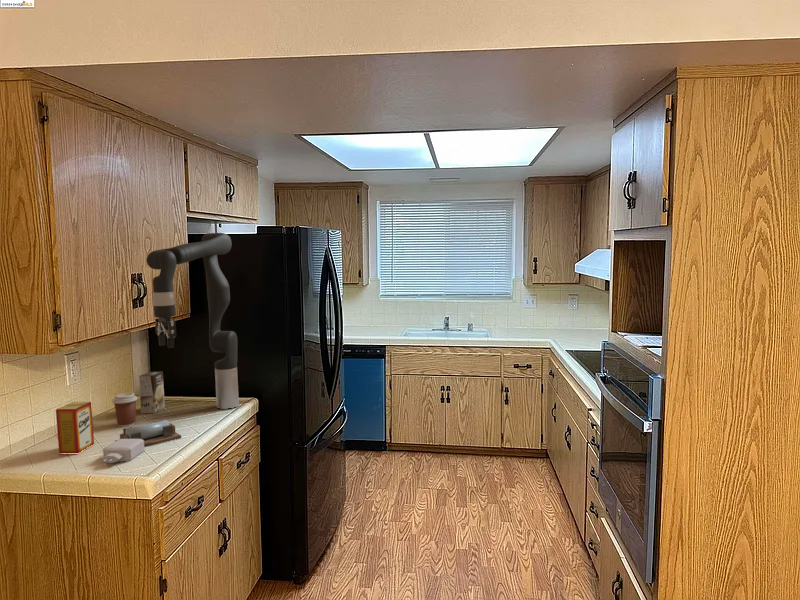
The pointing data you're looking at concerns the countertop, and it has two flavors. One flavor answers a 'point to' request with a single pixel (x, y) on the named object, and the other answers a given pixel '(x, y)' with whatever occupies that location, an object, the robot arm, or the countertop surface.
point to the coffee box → (151, 392)
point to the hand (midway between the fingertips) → (166, 346)
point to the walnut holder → (167, 436)
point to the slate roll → (148, 430)
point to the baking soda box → (74, 427)
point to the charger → (123, 450)
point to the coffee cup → (125, 408)
